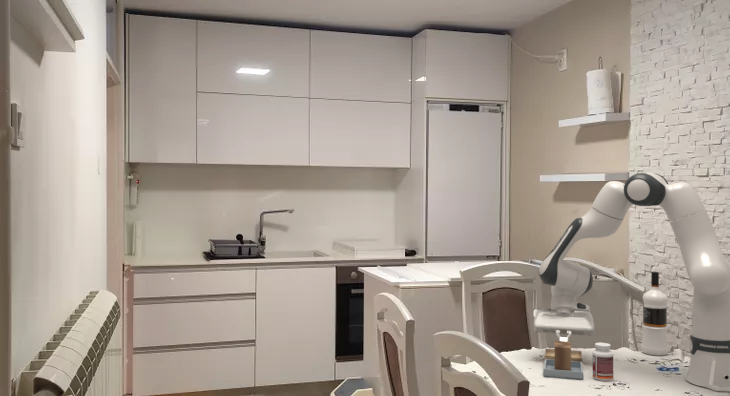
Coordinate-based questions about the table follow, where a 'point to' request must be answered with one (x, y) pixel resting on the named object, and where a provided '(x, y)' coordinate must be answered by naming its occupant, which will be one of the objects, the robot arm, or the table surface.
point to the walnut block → (562, 355)
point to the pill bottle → (602, 362)
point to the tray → (574, 374)
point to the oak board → (574, 355)
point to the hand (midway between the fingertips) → (563, 343)
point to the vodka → (654, 320)
